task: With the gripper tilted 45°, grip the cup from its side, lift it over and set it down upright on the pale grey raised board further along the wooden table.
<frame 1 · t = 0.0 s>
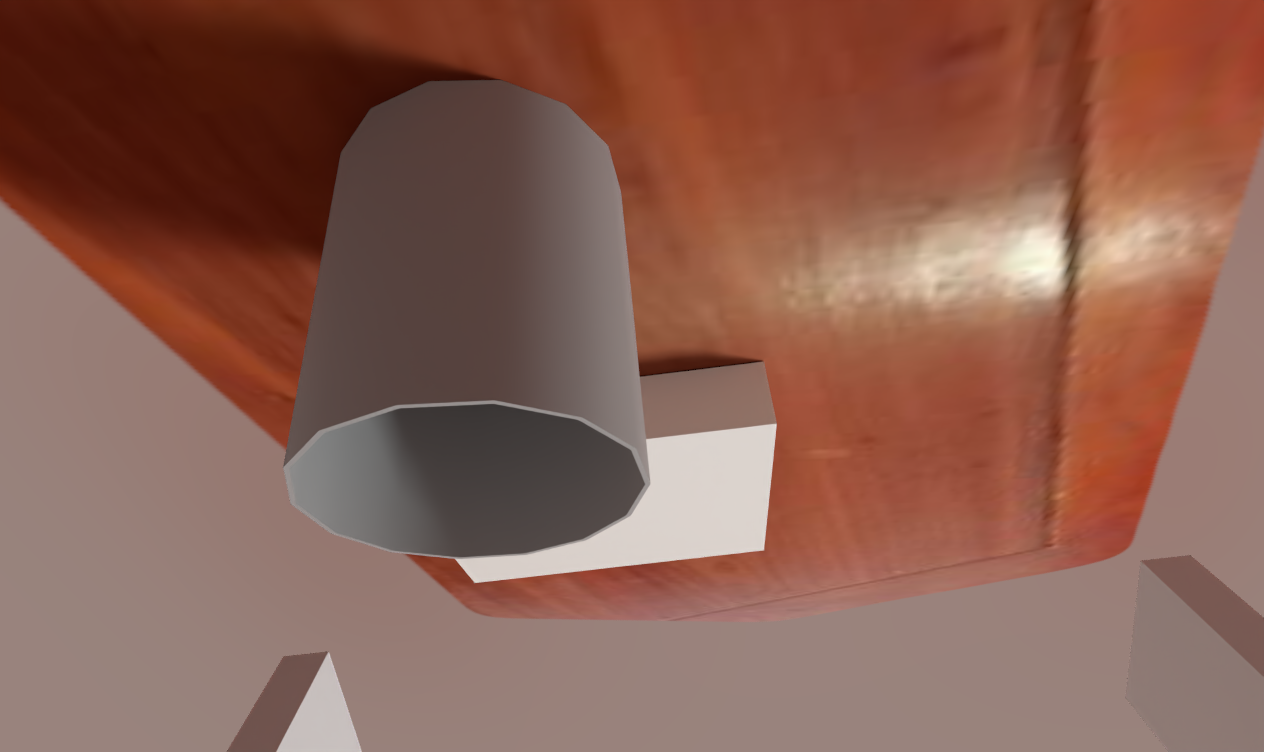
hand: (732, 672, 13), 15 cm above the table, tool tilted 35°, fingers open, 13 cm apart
raised board: (597, 460, 39), on the table
cup: (483, 191, 24), on the table
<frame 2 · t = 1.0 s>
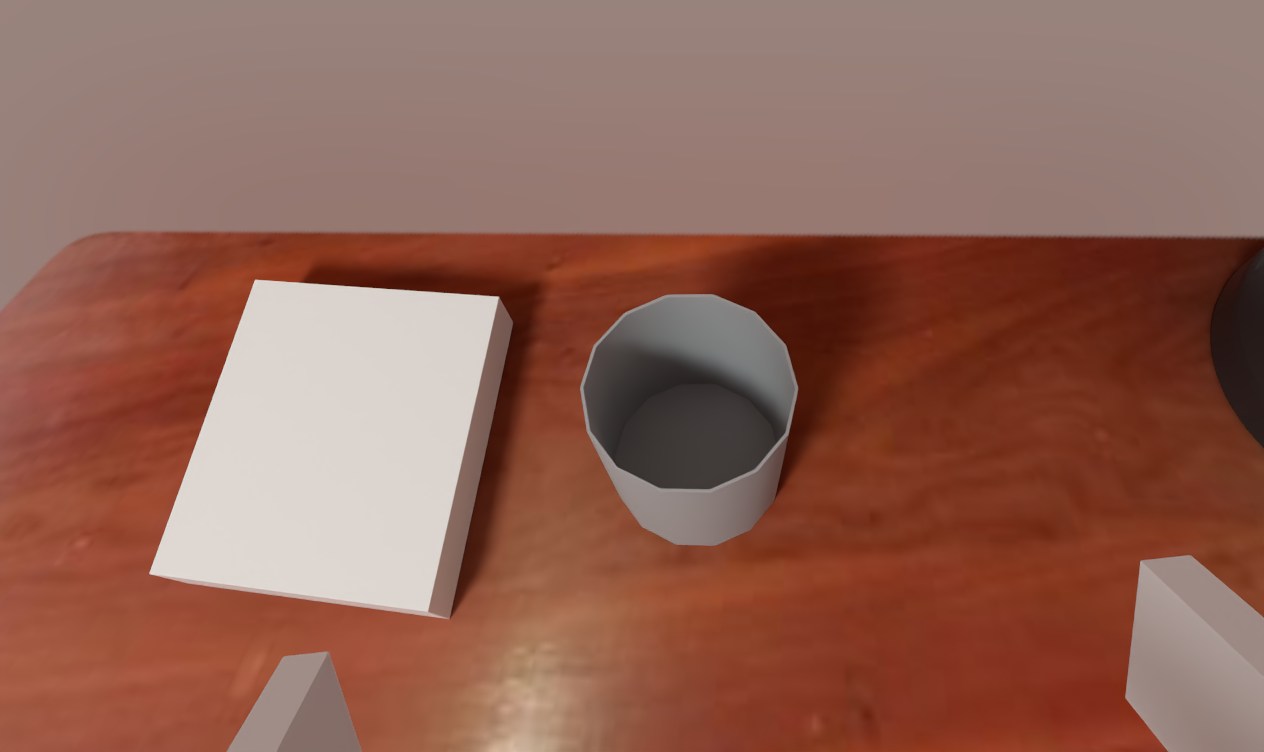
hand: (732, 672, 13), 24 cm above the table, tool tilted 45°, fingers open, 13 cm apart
raised board: (358, 447, 42), on the table
cup: (697, 464, 40), on the table
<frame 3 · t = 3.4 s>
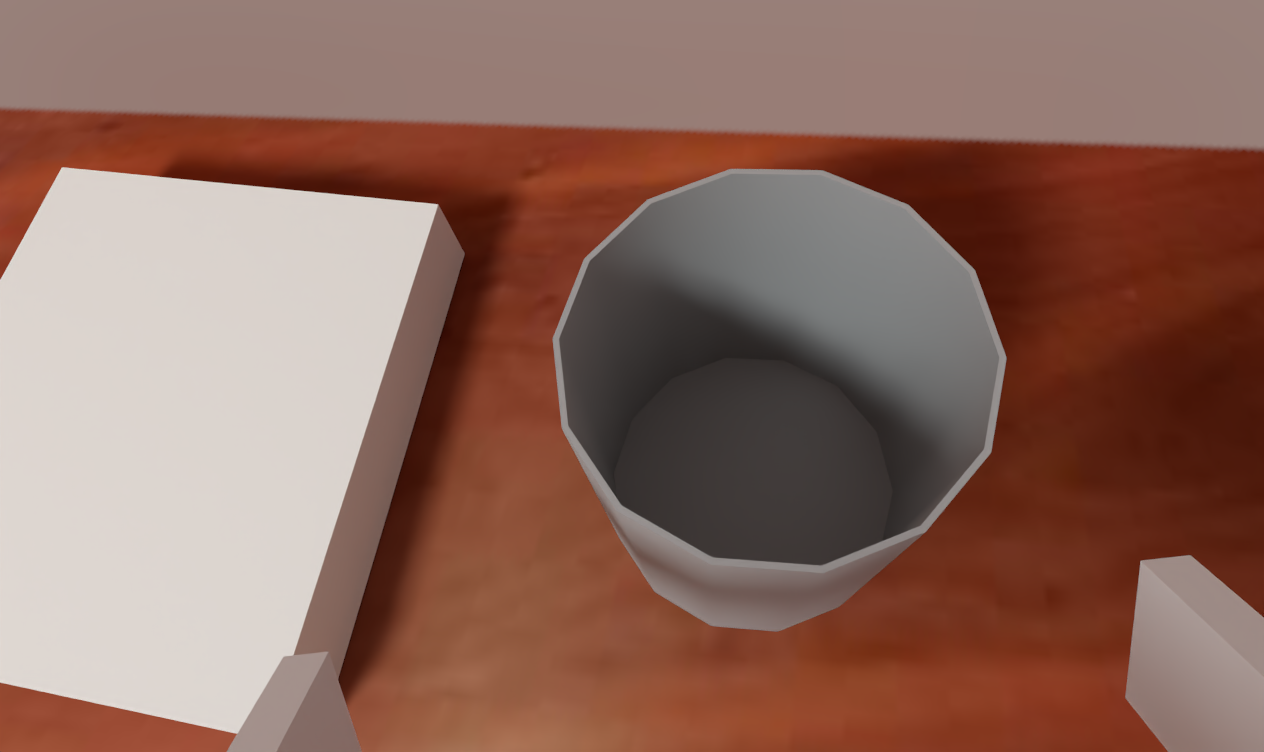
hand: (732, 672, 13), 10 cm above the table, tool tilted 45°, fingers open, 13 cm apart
raised board: (205, 436, 26), on the table
cup: (749, 489, 24), on the table
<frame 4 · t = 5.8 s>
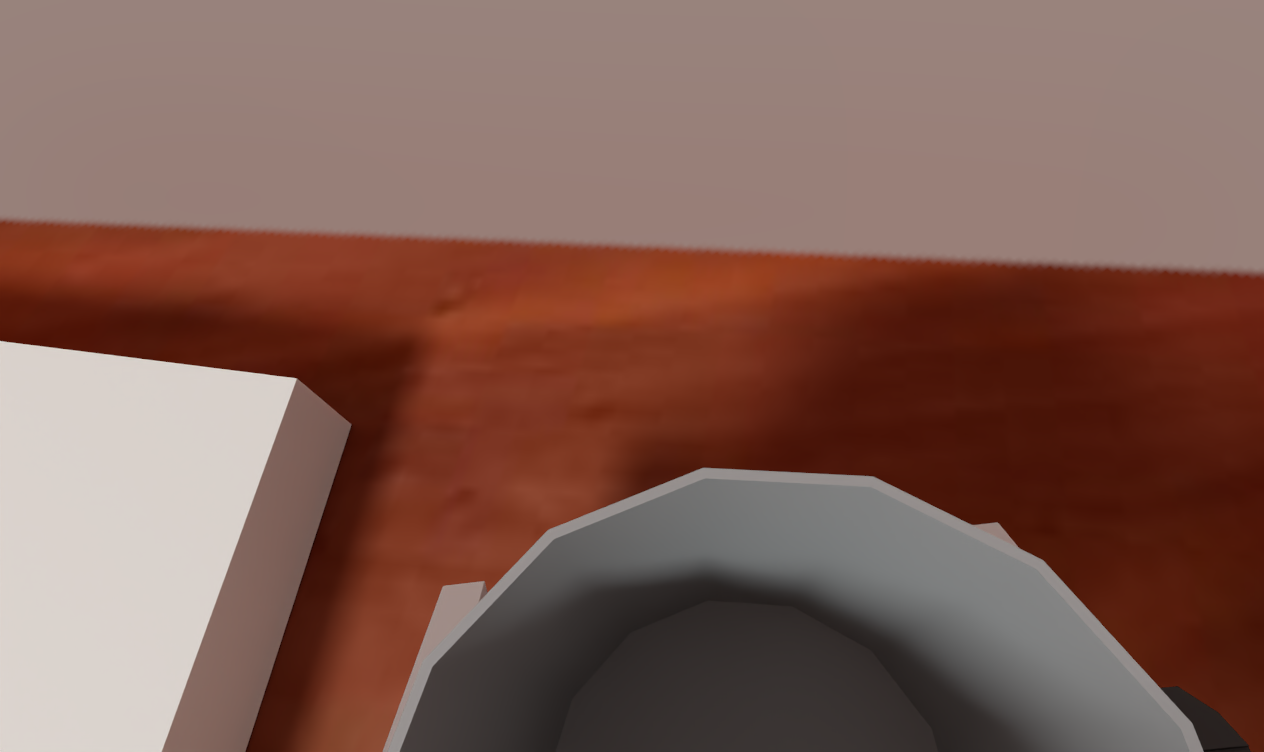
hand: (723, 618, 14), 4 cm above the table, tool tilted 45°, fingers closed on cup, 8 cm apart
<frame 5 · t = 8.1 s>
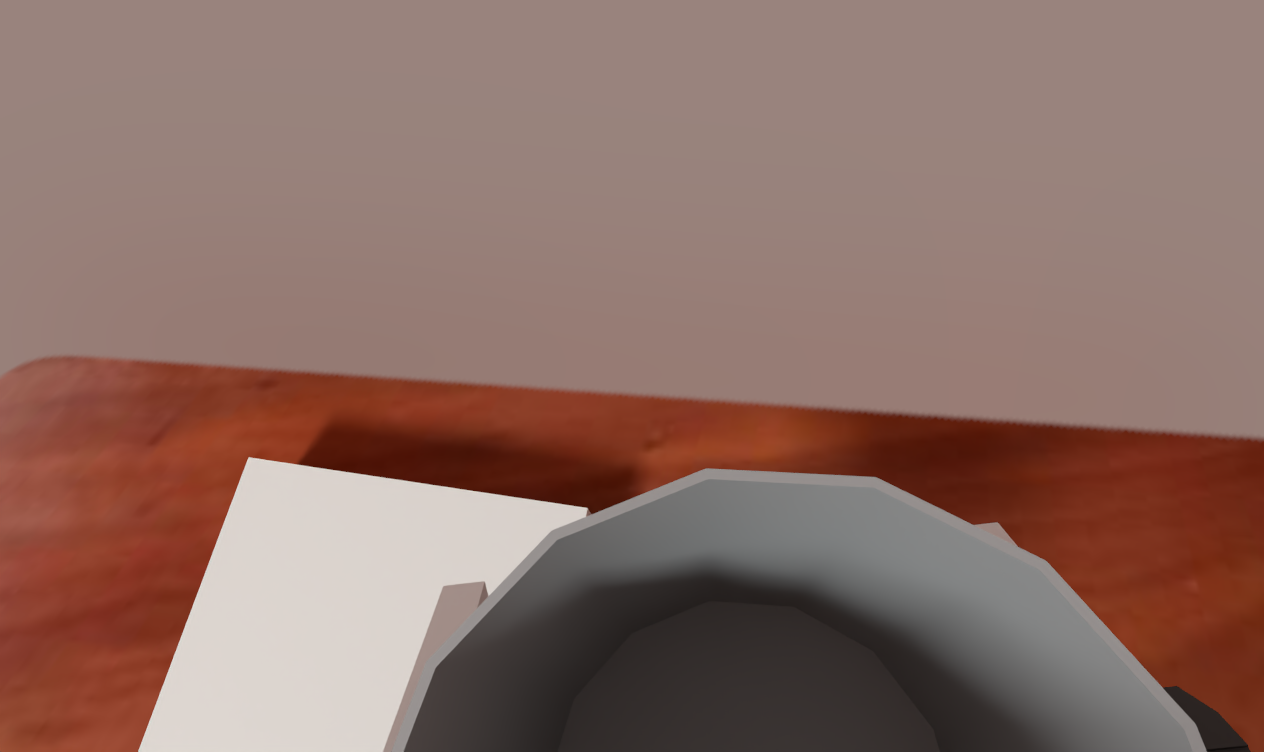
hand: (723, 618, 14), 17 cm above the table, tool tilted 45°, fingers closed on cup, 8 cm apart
raised board: (381, 704, 30), on the table
when the fingers open (8 cm above the table, at t = 10.8 s): cup stays where it is, resting on raised board.
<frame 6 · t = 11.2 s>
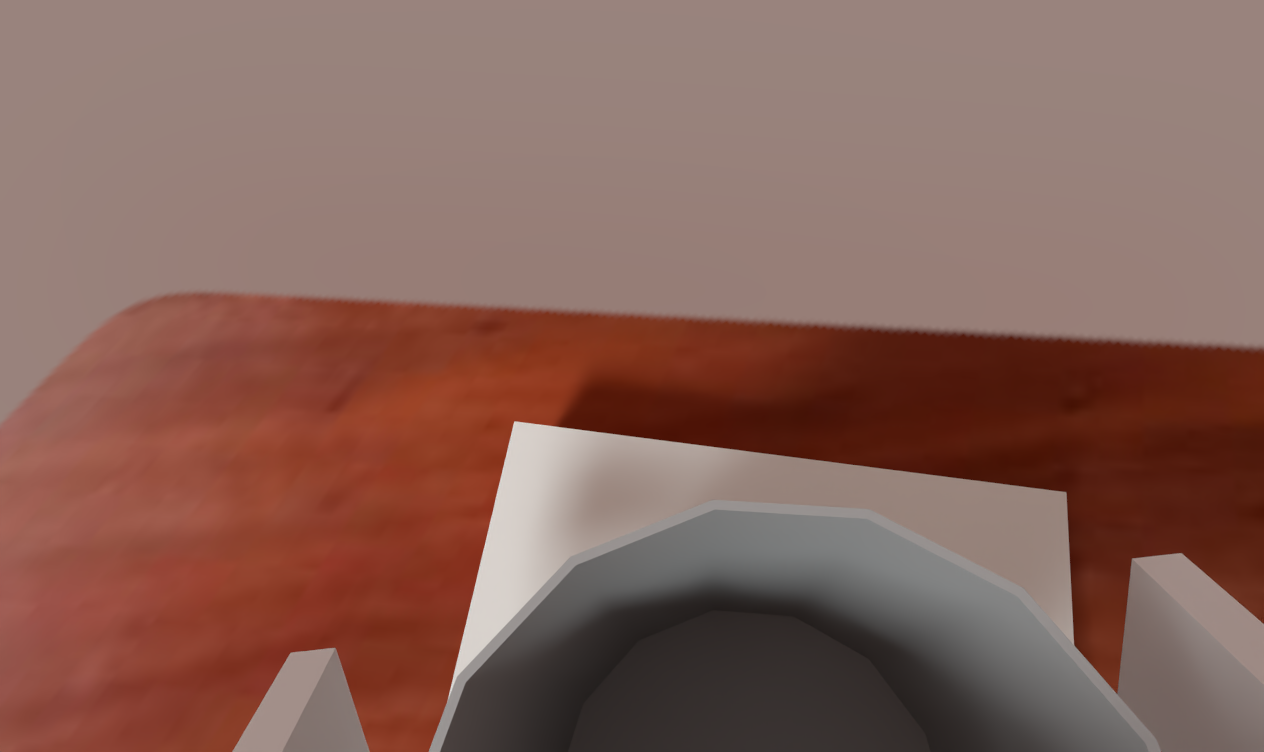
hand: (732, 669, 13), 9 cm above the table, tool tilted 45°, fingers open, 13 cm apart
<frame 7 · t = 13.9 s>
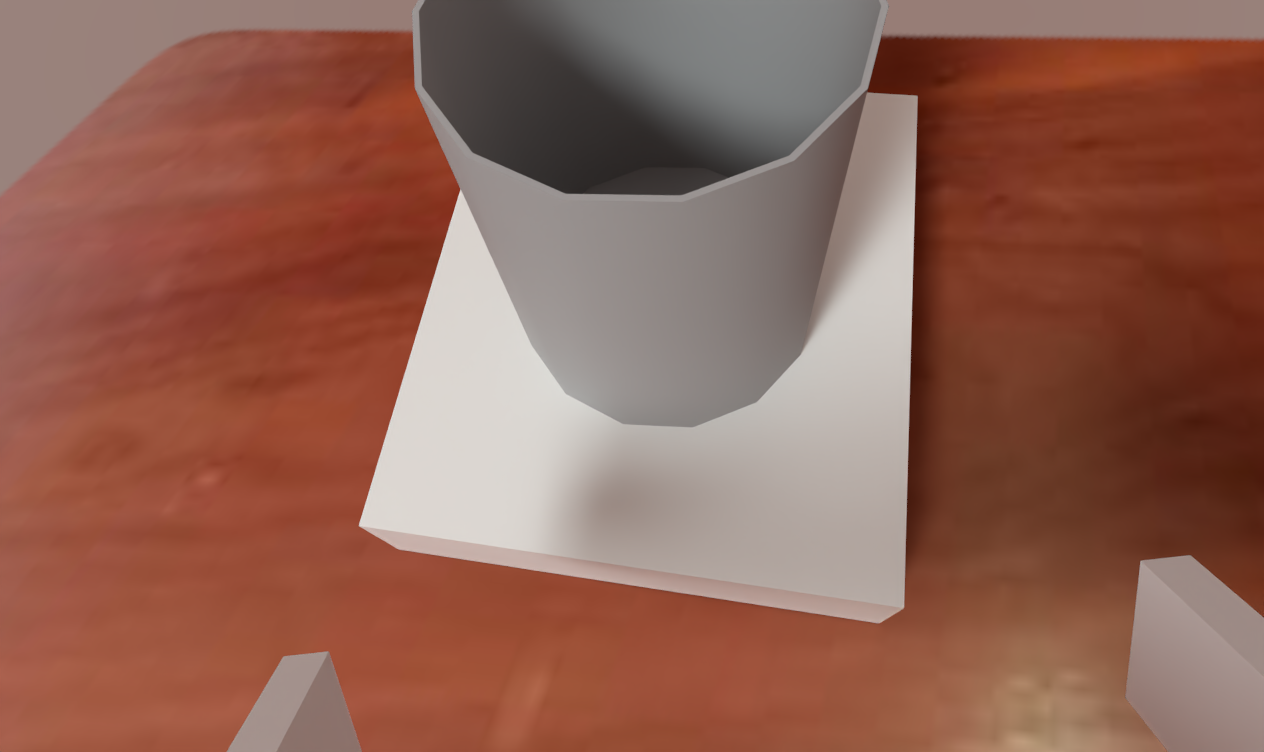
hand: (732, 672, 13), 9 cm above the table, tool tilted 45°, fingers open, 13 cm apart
raised board: (668, 337, 26), on the table
cup: (667, 296, 23), point 3 cm above the table, touching raised board
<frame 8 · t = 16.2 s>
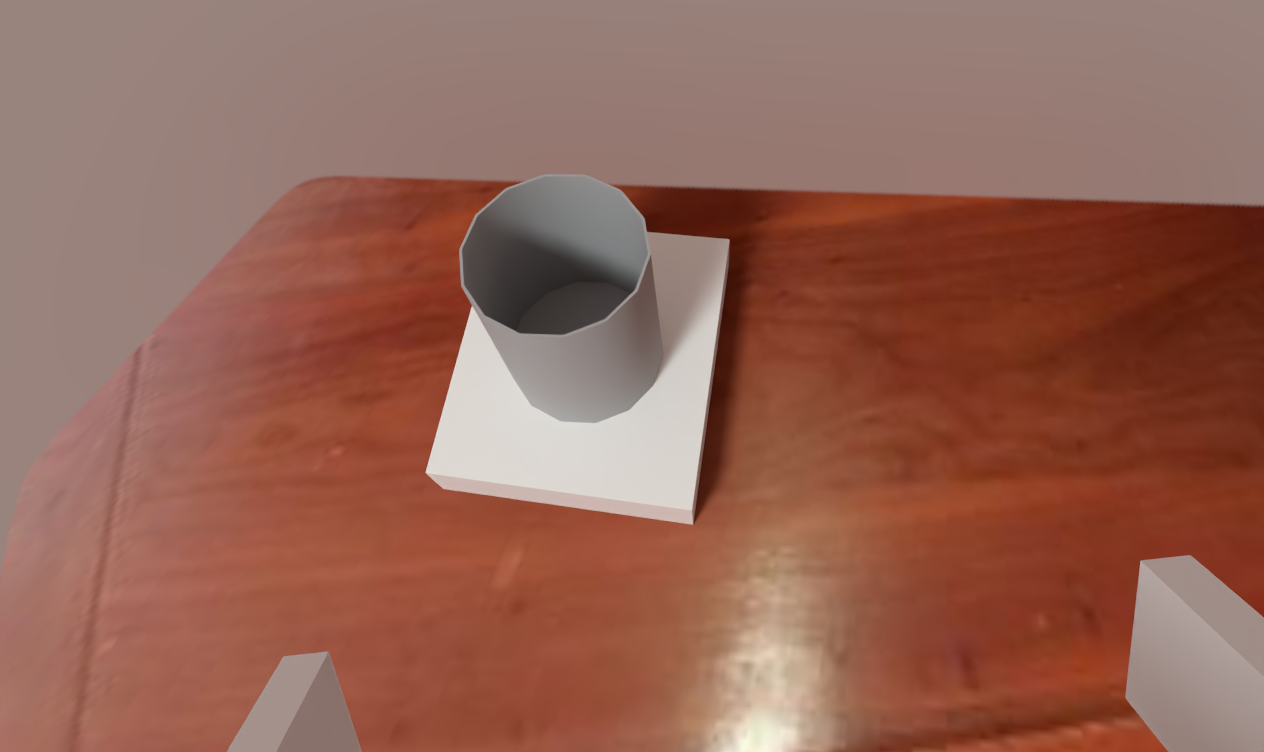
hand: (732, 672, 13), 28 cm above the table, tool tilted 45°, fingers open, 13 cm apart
raised board: (592, 372, 46), on the table
cup: (587, 353, 43), point 3 cm above the table, touching raised board
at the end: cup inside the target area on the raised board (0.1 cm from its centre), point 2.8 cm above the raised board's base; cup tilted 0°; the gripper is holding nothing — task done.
